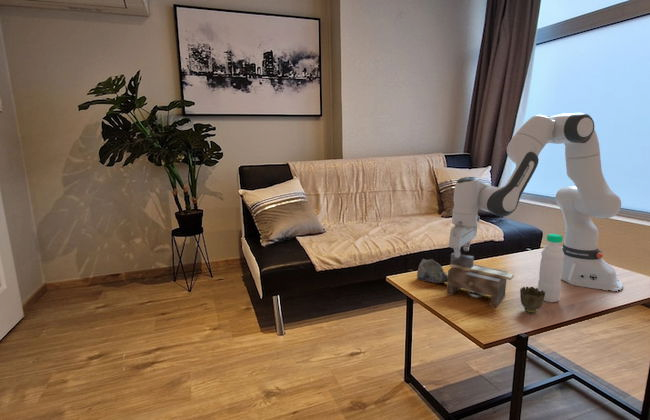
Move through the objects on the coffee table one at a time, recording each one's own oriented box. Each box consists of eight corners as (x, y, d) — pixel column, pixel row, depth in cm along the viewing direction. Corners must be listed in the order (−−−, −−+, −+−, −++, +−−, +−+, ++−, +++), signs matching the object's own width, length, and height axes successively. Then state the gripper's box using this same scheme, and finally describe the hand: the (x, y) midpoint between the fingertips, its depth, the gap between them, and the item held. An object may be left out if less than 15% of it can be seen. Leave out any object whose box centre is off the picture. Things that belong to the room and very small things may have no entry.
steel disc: (484, 295, 135) (484, 291, 134) (480, 299, 131) (480, 296, 130) (471, 291, 138) (471, 288, 137) (466, 296, 134) (467, 292, 134)
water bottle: (533, 298, 131) (540, 234, 125) (541, 292, 135) (548, 231, 129) (554, 305, 125) (562, 238, 120) (561, 299, 129) (570, 235, 124)
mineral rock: (453, 286, 142) (454, 263, 140) (430, 290, 140) (431, 266, 138) (435, 274, 155) (436, 253, 152) (413, 278, 152) (414, 256, 150)
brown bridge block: (504, 295, 133) (507, 271, 131) (495, 308, 123) (497, 282, 121) (458, 284, 144) (459, 261, 142) (446, 294, 135) (447, 270, 133)
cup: (513, 309, 123) (515, 288, 121) (528, 305, 125) (530, 284, 124) (531, 319, 116) (534, 297, 114) (547, 314, 118) (550, 293, 117)
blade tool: (449, 266, 137) (450, 254, 136) (453, 263, 140) (454, 251, 139) (510, 280, 123) (511, 267, 122) (513, 276, 126) (514, 263, 125)
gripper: (463, 226, 122) (460, 263, 125) (481, 216, 137) (478, 249, 140) (445, 223, 126) (443, 259, 129) (465, 213, 141) (462, 246, 144)
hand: (461, 253), depth 135 cm, fingers open, 8 cm apart
